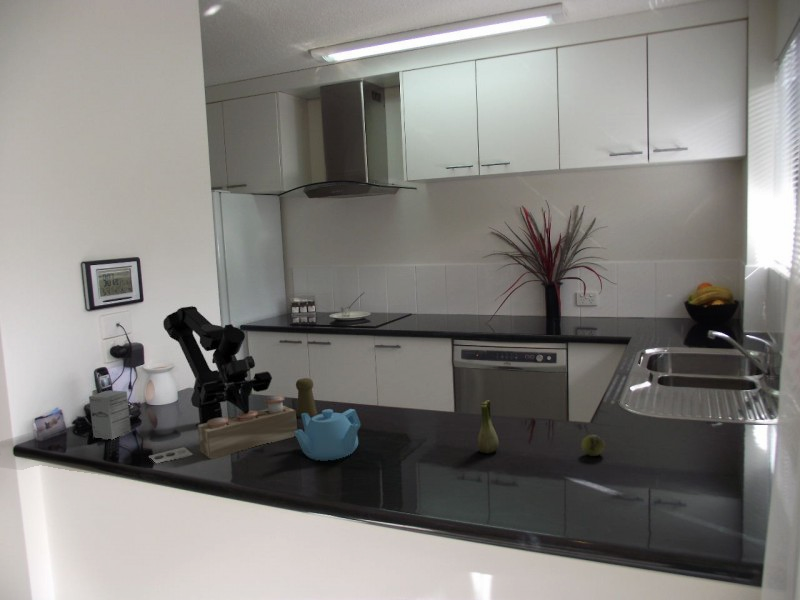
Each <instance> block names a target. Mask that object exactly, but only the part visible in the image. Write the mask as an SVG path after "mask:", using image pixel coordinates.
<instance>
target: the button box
mask: <svg viewBox="0 0 800 600" xmlns="http://www.w3.org/2000/svg"><path fill="white" fill-rule="evenodd" d="M256 411H257V413H258V415H257V416H256V418H255V419H251V420H247V421H241V420H240V418H238V417H237V415H235V416H230V417H227V418H228V423H226V426H222V427H217V428H213V429H212V428H211V427H210V426H209V425H208V424H207V423H204V424H200V425H198V426H197V432H198V440H199V451H200V453H202V454H204V455H205V456H206V457H208V458H209V459H211V460H212V459H216V458H220V457H223V456H228V455H231V454H235V453H238V451H239V452H242V451H241V450H243V451H246V450H249V449H248V448H250V449H253V448H252V447H254V448H256V447H255V446H258V447H260V446H259V445H261V446H263V445H262V444H265V445H267V444H266V443H269V444H272V443H275V442H280V441H283V440H287V439H290V438H291V439H292V438H294V436H295V437H296V435H295V433H294V432H295V431H297V430H298V421H297V411H296V410H295V409H293V408H290V407H288V406H287V405H284V404H283V412H280V413H276V414H272V415H271V414H269V413H268V408H265V409H261V410H256ZM271 442H272V443H271ZM245 449H246V450H245Z"/></svg>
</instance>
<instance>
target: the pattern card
mask: <svg viewBox="0 0 800 600" xmlns="http://www.w3.org/2000/svg"><path fill="white" fill-rule="evenodd" d="M190 456H193V453H192V452H191V451H189V449H187V448H186V447H185V446H183V447H180V448H176V449H171V450H166V451H164V452H163V451H162V452H160V453H155V454H152V455H151V454H150V455H149V456H148V458H149V459H150V458H151V459H152V460H153V461H154V462H155V463H160V462H164V461H168V462H171V461H170V460H172V461H174V459H176V460H179V458H180V459H183V458H187V457H190ZM151 459H150V460H151ZM152 460H151V461H152ZM153 461H152V462H153ZM154 462H153V463H154ZM155 463H154V464H155ZM164 463H165V462H164ZM160 464H161V463H160Z"/></svg>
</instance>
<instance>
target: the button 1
mask: <svg viewBox="0 0 800 600" xmlns="http://www.w3.org/2000/svg"><path fill="white" fill-rule="evenodd" d="M228 418H229V417H223V416H222V417H220V418H214V419H211V420H209V421H207V424H208V425H209V426H210V427H211V428H212V429H213V428H217V427H222V426H226V423H228Z"/></svg>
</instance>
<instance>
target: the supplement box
mask: <svg viewBox="0 0 800 600" xmlns="http://www.w3.org/2000/svg"><path fill="white" fill-rule="evenodd" d="M88 399H89V409H90V418H91V426H92V434H93V438H94V437H95V438H102V439H101V440H108V439H111V440H110V441H113V439H114V440H116V439H115V438H117V437H119V436H121V435H124V434H126V433H129V432H132V429H131V428H132V426H131V419H130V418H131V417H130V411H129V410H130V409H129V400H128V392H127V390H126V391H124V390H123V391H122V390H105V391H101V392H99V393H96V394H92V395H89V396H88ZM129 434H130V433H129ZM124 436H125V435H124ZM119 438H120V437H119ZM117 439H118V438H117Z"/></svg>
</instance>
